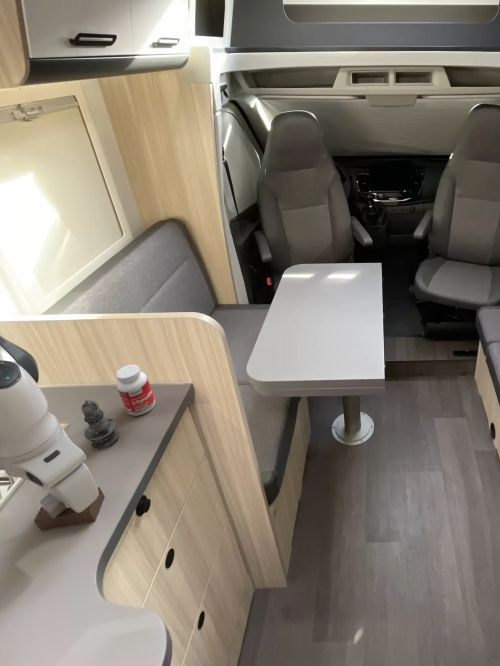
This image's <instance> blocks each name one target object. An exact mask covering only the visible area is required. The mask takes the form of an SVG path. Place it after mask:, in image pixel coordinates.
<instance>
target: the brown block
mask: <svg viewBox="0 0 500 666" xmlns="http://www.w3.org/2000/svg"><path fill="white" fill-rule="evenodd" d="M97 489H98V492H99V495H98V497H97V499H96V500H95V501H94V502H93V503H92V504H91V505H90V506H88V507H87V508H86V509H85V510H83V511H82V512H80V513H77V512H75V511H74V510H73V509H71V508H70V507H69V508H66V509H65V510H64V511H62V512H61V513H60V514H59V515H58V516H56V517H55V518H54V519H52V518H51V517H50V516H48V515H47V513H46V512H45V510H44V509H43V507H42V506H41V505H40V508H39V510H38V512H37V514H36V516H35V518H34V520H33V522H34V523H35V525H36V526H37V528H38V529H39V531H41V532H42V531H47V530H53V529H59V528H65V527H70V526H77V525H83V524H88V523H94V522H96V521H97V519H98V516H99V514H100V510H101V508H102V505H103V503H104V500H105V497H106V496H105V494H104V492H103V491H102V489H101V487H100V486H97Z"/></svg>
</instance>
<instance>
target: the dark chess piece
mask: <svg viewBox="0 0 500 666" xmlns="http://www.w3.org/2000/svg"><path fill="white" fill-rule="evenodd" d="M81 411H82V414H83V416H84V419H83V420H84V422H85V423H87V424H88V427H87V428H86V429H85V431H84V434H83V435H84V438H85V439H86V440H88V441H89V442H91V448H92V449H93V450H95V451H103V450H107V449H109V448H112V447H113V446H114V445H115V444H116V443H118V441H119V439H120V433H119V432H118V431H116V426H117V423H116V420H114V419H113V418H105V412H104V410H102V409H100V406H99V404H98V402H97V401H95V400H88V399H85V401H84V403H82V405H81Z"/></svg>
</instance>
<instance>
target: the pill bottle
mask: <svg viewBox="0 0 500 666" xmlns="http://www.w3.org/2000/svg"><path fill="white" fill-rule="evenodd" d="M115 376H116V379H117V382H116V388H117V391H118V393H119V396H120V399H121V401H122V403H123V406H124V408H125V410H126V413H127V414H128V415H131V416H134V417H137V416H142V415H144V414H147V413H148V412H150V411H151V410H152V409H154V407H155V405H156V399H155V396H154V393H153V390H152V387H151V384H150V382H149V379H148V377H147V375H146V374H145V372H143V371H141V368H140V366H139V365H137V364H128V365H125V366H122V367H121V368H120V369H118V370H117V372H116V374H115Z"/></svg>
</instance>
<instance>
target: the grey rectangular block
mask: <svg viewBox="0 0 500 666" xmlns="http://www.w3.org/2000/svg"><path fill="white" fill-rule="evenodd" d="M38 503H39V504H40V507H41V506H42V507H43V509H44V510H45V512H46V513H47V515H48V516H50V517H51V518H52V519H54V518H55V517H56V516H58V515H59V514H60V513H61V512H62V511H64V510H65V509H66V508H67V507H66V506H64V505H63V504H62V503H61V501H60V500H58V499H57V498H55V497H54V496H52V495H51V494H49V493H47V494H46V496H44V497H43V498H41V499H40V500H39V501H38Z"/></svg>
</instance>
